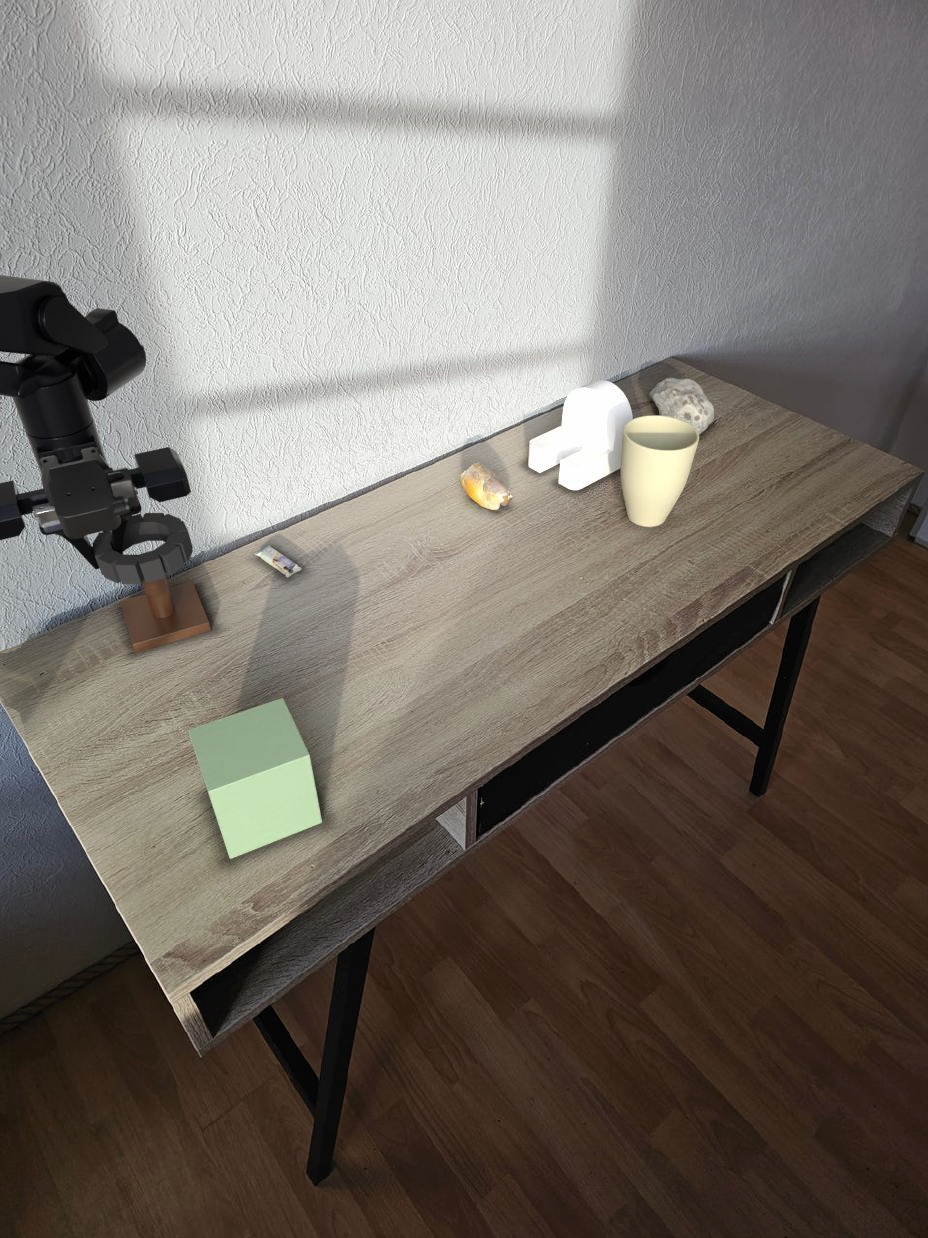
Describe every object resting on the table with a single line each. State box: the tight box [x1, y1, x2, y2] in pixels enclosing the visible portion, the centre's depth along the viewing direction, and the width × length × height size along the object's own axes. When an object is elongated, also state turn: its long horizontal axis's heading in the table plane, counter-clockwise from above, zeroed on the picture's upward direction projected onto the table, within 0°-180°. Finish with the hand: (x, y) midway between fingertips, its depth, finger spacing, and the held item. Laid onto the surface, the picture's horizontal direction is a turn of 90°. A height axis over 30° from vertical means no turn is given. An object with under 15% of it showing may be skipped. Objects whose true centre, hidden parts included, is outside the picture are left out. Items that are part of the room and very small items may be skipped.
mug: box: [620, 414, 700, 528], centre depth 103 cm, size 11×10×12 cm
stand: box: [119, 577, 212, 654], centre depth 88 cm, size 8×8×7 cm
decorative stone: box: [648, 377, 715, 435], centre depth 125 cm, size 12×11×5 cm
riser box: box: [187, 697, 323, 860], centre depth 68 cm, size 8×7×9 cm
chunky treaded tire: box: [91, 512, 194, 585], centre depth 84 cm, size 9×9×2 cm
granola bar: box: [254, 545, 303, 579], centre depth 97 cm, size 7×2×1 cm, turn 46°
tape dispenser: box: [527, 379, 634, 491], centre depth 114 cm, size 10×18×11 cm, turn 131°
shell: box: [460, 462, 514, 511], centre depth 107 cm, size 8×4×5 cm, turn 49°
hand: (108, 564), depth 83 cm, fingers closed on chunky treaded tire, 2 cm apart
